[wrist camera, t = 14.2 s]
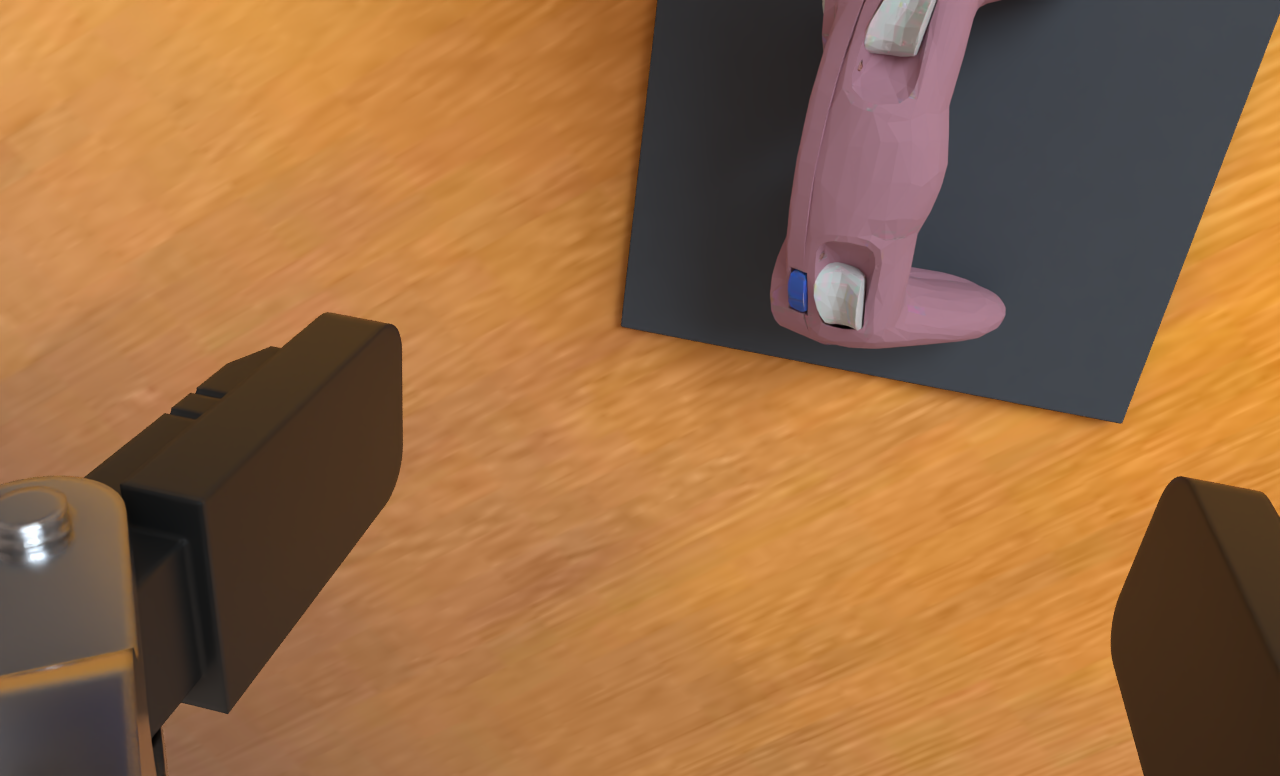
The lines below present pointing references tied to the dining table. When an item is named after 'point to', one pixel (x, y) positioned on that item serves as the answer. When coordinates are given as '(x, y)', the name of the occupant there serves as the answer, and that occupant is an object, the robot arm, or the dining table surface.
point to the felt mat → (955, 183)
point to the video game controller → (877, 182)
